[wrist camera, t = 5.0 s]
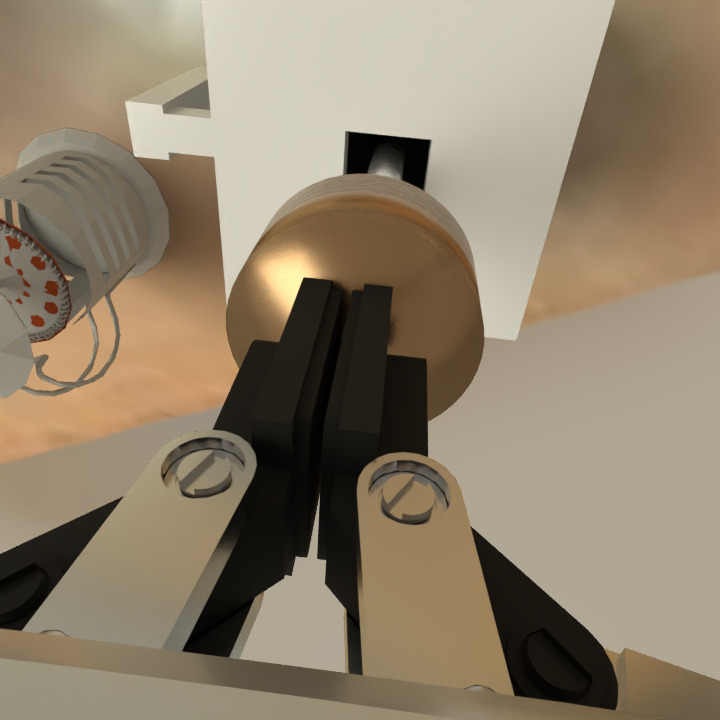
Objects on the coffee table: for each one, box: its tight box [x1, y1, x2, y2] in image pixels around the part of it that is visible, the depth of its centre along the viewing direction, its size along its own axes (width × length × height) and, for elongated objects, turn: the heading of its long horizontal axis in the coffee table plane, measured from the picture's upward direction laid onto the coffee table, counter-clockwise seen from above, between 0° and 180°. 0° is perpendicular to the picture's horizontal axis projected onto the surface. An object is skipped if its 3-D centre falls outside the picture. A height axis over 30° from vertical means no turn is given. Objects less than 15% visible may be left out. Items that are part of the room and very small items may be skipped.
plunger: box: [226, 134, 484, 421], centre depth 18 cm, size 5×5×18 cm
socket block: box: [125, 0, 615, 340], centre depth 24 cm, size 16×12×13 cm
